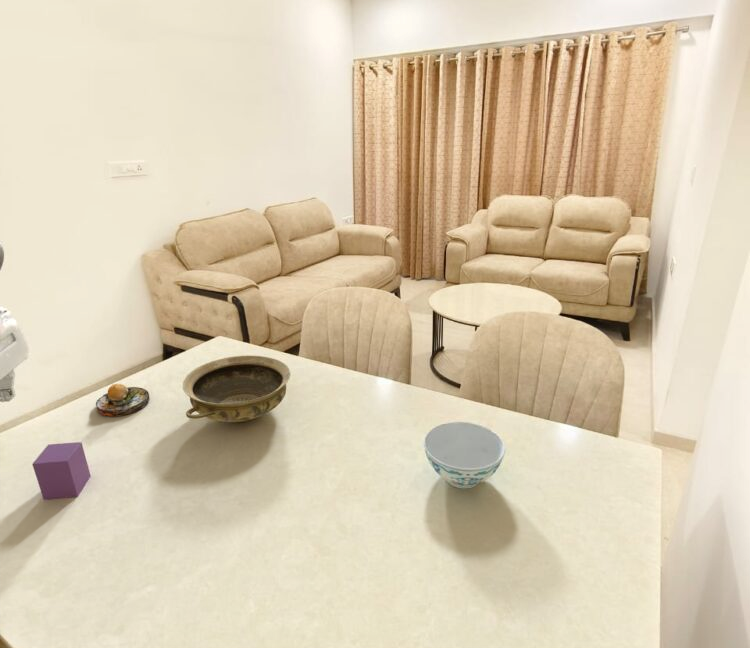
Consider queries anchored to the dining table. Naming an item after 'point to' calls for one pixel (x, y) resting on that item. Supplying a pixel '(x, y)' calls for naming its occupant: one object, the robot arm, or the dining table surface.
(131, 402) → the dark lid with knob
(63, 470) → the block
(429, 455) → the chinaware
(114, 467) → the dining table surface
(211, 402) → the ceramic bowl
